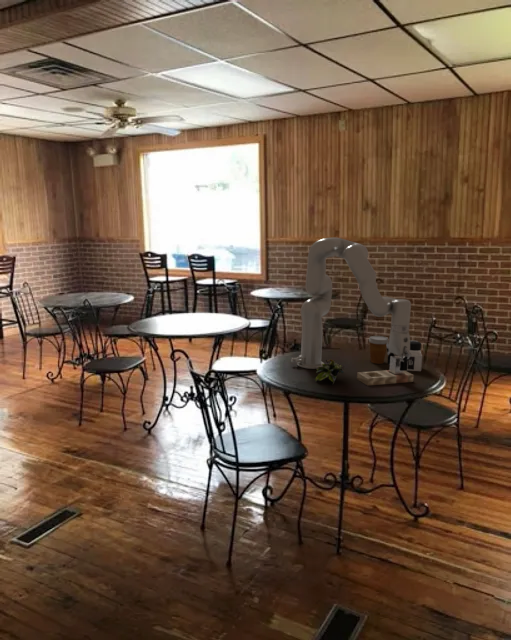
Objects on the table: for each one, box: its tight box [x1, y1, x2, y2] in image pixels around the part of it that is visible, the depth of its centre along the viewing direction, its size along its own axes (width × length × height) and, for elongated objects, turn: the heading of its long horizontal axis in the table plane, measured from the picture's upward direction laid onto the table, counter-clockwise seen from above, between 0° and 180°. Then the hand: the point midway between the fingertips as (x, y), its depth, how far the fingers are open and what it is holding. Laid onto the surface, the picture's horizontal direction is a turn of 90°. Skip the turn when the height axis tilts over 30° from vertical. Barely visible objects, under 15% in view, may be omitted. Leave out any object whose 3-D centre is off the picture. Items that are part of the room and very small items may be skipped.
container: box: [404, 340, 423, 372], centre depth 246 cm, size 8×8×13 cm
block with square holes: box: [356, 369, 415, 386], centre depth 228 cm, size 22×9×3 cm, turn 108°
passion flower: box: [314, 359, 345, 385], centre depth 224 cm, size 11×11×12 cm
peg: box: [388, 356, 404, 375], centre depth 229 cm, size 4×4×10 cm
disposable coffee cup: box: [368, 335, 389, 365], centre depth 256 cm, size 10×10×12 cm
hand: (396, 367), depth 229 cm, fingers open, 9 cm apart
